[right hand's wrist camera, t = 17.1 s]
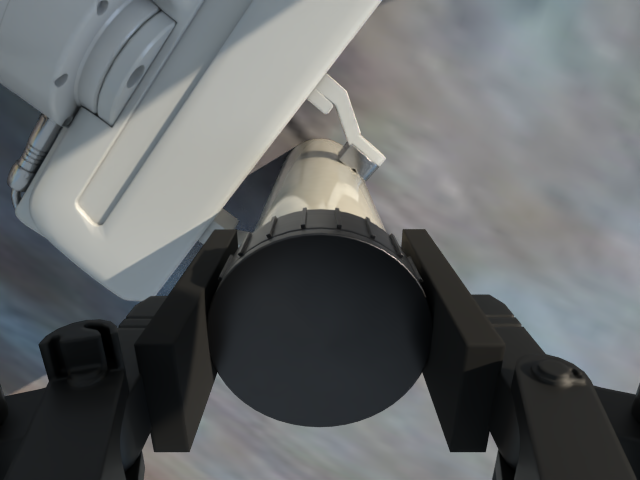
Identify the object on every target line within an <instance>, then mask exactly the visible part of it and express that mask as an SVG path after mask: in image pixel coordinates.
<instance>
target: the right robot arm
mask: <svg viewBox="0 0 640 480" xmlns="http://www.w3.org/2000/svg"><path fill="white" fill-rule="evenodd" d="M401 248H402V250H403V251H404V253H405V255H406V256H407V257H409V256H410V257H411V259H412V261H413V263H414V265H415V267H416V269H417V271H418V273H419V275H420V277H421V279H422V280H423V282H421V283H420V284H421V286H422V288H423V290H424V292H425V295H426V297H427V299H428V301H429V305H430V309H431V312H432V319H433V332H432V341H431V349H430V355H429V357H428V360H427V363H426V365H425V367H424V369H423V371H422V373H423V375H424V378H425V381H426V384H427V387H428V390H429V393H430V395H431V398H432V401H433V404H434V407H435V410H436V413H437V416H438V418H439V421H440V424H441V427H442V430H443V433H444V436H445V438H446V441H447V444H448V447H449V450H450V452H486V448H487V442H488V437H489V432H490V433H491V435H492V437H493V439H494V441H495V443H496V445H497V447H498V454H497V459H496V463H495V468H494V473H493V478H492V480H640V384H639V387H638V390H637V393H636V395H635V394H630V393H625V392H620V391H615V390H610V389H606V388H601V387H597V386H593V384H592V382H591V380H590V379H589V377H588V376H587V375H586V374H585V372H584V371H582V370H581V369H579V368H578V367H577V366H575V365H574V364H572V363H570V362H568V361H566V360H563V359H561V358H559V357H555V356H551V355H547V354H545V353H544V351H543V350H542V349H541V348H540V347H539V345H538V344H537V343H536V342H535V340H534V339H533V338H532V337H531V336H530V334H529V333H528V332H527V331H526V330H525V328H524V327H521V323H520V322H519V321H518V320H517V319H516V317H514V315H513V314H512V312H511V311H510V310H509V309H508V308H507V306H506V305H505V304H504V303H502V302H500V301H499V300H497V299H496V298H494V297H492V296H491V295H471V294H470V293H469V291H468V290H467V288H466V287H465V285H464V284H463V283H462V281H461V280H460V278H459V277H458V275H457V274H456V273H455V271H454V270H453V268H452V267H451V265H450V264H449V263H448V261H447V260H446V258H445V257H444V255H443V254H442V253H441V251H440V250H439V248H438V247H437V245H436V244H435V243H434V241H433V240H432V238H431V237H430V235H429V234H428V233H427V231H426V230H425V229H403V233H402V246H401ZM237 249H238V236H237V229H214V231H213V232H212V234H211V235H210V236H209V238H208V239H207V241H206V242H205V244H204V245H203V246H202V248H201V249H200V251H199V252H198V254H197V255H196V256H195V258H194V259H193V261H192V262H191V264H190V265H189V266H188V268H187V269H186V271H185V272H184V274H183V275H182V276H181V278H180V279H179V281H178V282H177V284H176V285H175V286H174V288H173V289H172V291H171V292H170V294H169V295H168V296H150V297H148V298H147V299H145V300H143V301H142V302H140V303H139V304H137V305H135V307H134V308H133V309H132V310H131V311H130V313H129V314H128V315H127V316H126V319H124V320H123V321H122V322H121V324H120V325H119V328H117V326H116V325H114V324H113V323H112V322H110V321H105V320H85V321H80V322H76V323H72V324H69V325H67V326H64V327H61V328H59V329H57V330H55V331H54V332H52V333H50V334H49V335H47V336H46V337H45V338H44V339H43V340H42V341H41V342H40V343H39V348H40V351H41V355H42V358H43V362H44V365H45V369H46V372H47V376H48V379H49V383H48V385H47V387H46V388H42V389H38V390H34V391H29V392H24V393H19V394H14V395H9V396H4V394H3V391H2V388H1V385H0V480H144V471H145V465H144V459H143V454H142V449H143V447H144V445H145V442H146V440H147V438H148V436H149V434H150V433H151V438H152V444H153V449H154V452H190V449H191V446H192V443H193V441H194V438H195V435H196V432H197V429H198V426H199V423H200V421H201V418H202V415H203V412H204V409H205V406H206V403H207V400H208V398H209V395H210V392H211V389H212V386H213V383H214V380H215V378H216V375H217V370H216V368H215V366H214V364H213V361H212V358H211V355H210V352H209V344H208V335H207V317H208V311H209V308H210V304H211V301H212V298H213V296H214V294H215V292H216V290H217V288H218V286H219V284H220V282H221V281H219V280H218V278H219V276H220V274H221V272H222V270H223V268H224V266H225V264H226V262H227V260H228V258H229V256H230V255H234V254H235V252H236V251H237Z"/></svg>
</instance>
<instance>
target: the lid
mask: <svg viewBox="0 0 640 480" xmlns="http://www.w3.org/2000/svg"><path fill="white" fill-rule="evenodd" d="M218 280H219V281H221V282H220V284H219V286H218V288H217V290H216V292H215V294H214V296H213V298H212V301H211V304H210V308H209V311H208V317H207V335H208V344H209V352H210V355H211V358H212V361H213V364H214V366H215V368H216V370H217V372H218V374H219V375H220V377H221V378H222V380H223V381H224V383H225V384H226V385H227V386H228V388H229V389H230V390H231V391H232V392H233V393H234V394H235V395H236V396H237V397H238V398H240V399H241V400H242V401H243V402H244V403H246V404H247V405H249V406H250V407H252V408H253V409H255V410H256V411H258V412H260V413H262V414H264V415H266V416H268V417H271V418H273V419H276V420H279V421H282V422H286V423H290V424H294V425H300V426H308V427H332V426H339V425H346V424H350V423H354V422H358V421H361V420H363V419H366V418H369V417H371V416H373V415H375V414H377V413H379V412H381V411H383V410H385V409H386V408H388V407H389V406H391V405H393V404H394V403H395V402H396V401H398V400H399V399H400V398H401V397H402V396H404V395H405V394H406V393H407V391H408V390H409V389H410V388H411V387H412V386H413V385H414V383H415V382H416V381H417V379H418V378H419V376H420V375H421V373H422V371H423V369H424V367H425V365H426V363H427V360H428V357H429V355H430V349H431V341H432V332H433V319H432V312H431V309H430V305H429V301H428V299H427V297H426V295H425V292H424V290H423V288H422V286H421V284H420V283H421V282H423V280H422V279H421V277H420V275H419V273H418V271H417V269H416V267H415V265H414V263H413V261H412V259H411V257H410V256H409V257H407V256H406V255H405V253H404V251H403V250H402V248H401V247H400V246H399V244H398V242H397V240H396V238H395V236H394V235H393V234H391V235H389V234H388V233H386V232H385V231H384V230H383V229H381V228H380V227H378V226H377V225H375V224H374V223H372V222H371V221H370V218H368V217H366V218H365V219H364V218H362V217H359V216H356V215H353V214H350V213H347V212H342V211H340V210H339V208H335V210H328V209H311V210H307V207H305V208H303V210H302V211H297V212H293V213H289V214H286V215H283V216H280V217H278V218H277V217H276V216H274V217H272V219H271V221H269V222H268V223H266V224H264V225H263V226H261V227H260V228H258V229H257V230H256V231H254V232H253V233H252V234H251V233H250V232H249V233H248V234H247V235H246V237H245V239H244V241H243V243H242V244H241V245H240V246H239V248H238V249H237V251H236V252H235V254H234V255H230V256H229V258H228V260H227V262H226V264H225V266H224V268H223V270H222V272H221V274H220V276H219V278H218Z"/></svg>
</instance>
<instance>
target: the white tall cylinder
mask: <svg viewBox="0 0 640 480" xmlns="http://www.w3.org/2000/svg"><path fill="white" fill-rule="evenodd" d="M342 148H343V146H342V145H340V144H338V143H336V142H334V141H331V140H327V139H313V140H309V141H306V142H303V143H301V144H300V145H298V146H296V147H295V148H294V149H293V150H292V151H291V152H290V153H289V154H288V156H287V157H286V159H285V161H284V163H283V165H282V167H281V170H280V172H279V174H278V177H277V179H276V181H275V184H274V186H273V188H272V190H271V193H270V195H269V197H268V200H267V202H266V204H265V207H264V209H263V211H262V214H261V216H260V218H259V220H258V223H257V225H256V227H255V230H254V231H256V230H257V229H258V228H260V227H261V226H263V225H264V224H266V223H268V222H269V221H271V219H272V217H274V216H276V217H277V218H278V217H280V216H283V215H286V214H289V213H293V212H297V211H302V210H303V208H305V207H307V210H311V209H328V210H335V208H339V210H340V211H342V212H347V213H350V214H353V215H356V216H359V217H362V218H364V219H365V218H366V217H368V218H370V221H371V222H372V223H374V224H375V225H377V226H378V227H380V228H381V229H383V230H384V231H385V232H386V230H385V228H384V226H383V224H382V221H381V219H380V217H379V214H378V212H377V210H376V207H375V205H374V203H373V201H372V198H371V196H370V194H369V191H368V189H367V187H366V184H365V182H364V180H363V179H362V178H360V177H359V176H358V174H357V173H356V171H355V169H351V168H349V167H347V166H346V165H345V164H344V163H342V162H341V161H340V160H339V158H338V157H339V156H338V153H339V151H340V150H341V149H342Z"/></svg>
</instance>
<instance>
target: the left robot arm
mask: <svg viewBox="0 0 640 480" xmlns="http://www.w3.org/2000/svg"><path fill="white" fill-rule="evenodd" d="M381 1H382V0H0V84H2V85H3V86H5V87H6V88H7V89H9V90H10V91H12V92H13V93H15V94H16V95H18V96H19V97H20V98H22V99H23V100H25V101H26V102H27V103H29V104H30V105H31V106H33V107H34V108H36V109H37V110H38V111H40V112H41V113H42V114H41V115H40V117H39V119H38V121H37V123H36V125H35V127H34V129H33V130H32V132H31V134H30V136H29V139H28V141H27V144H26V147H25V150H24V151H23V154H22V155H21V157H20V159H19V160H17V161H16V162H15V163H14V165H13V166H12V168H11V170H10V172H9V175H8V179H7V184H8V185H9V186H10V187H11V188H12V191H11V198H12V204H13V206H14V209H15V215H16V216H17V218H18V219H19V220H20V221H21V222H22V223H23V224H25V225H26V226H27V227H29V228H31V229H32V230H34V231H35V232H37V233H38V234H40V235H41V236H43V237H45V238H46V239H47V240H48V241H49V242H50V243H52V244H53V245H54V246H55V247H56V248H57V249H58V250H59V251H60V252H61V253H63V254H64V255H65V256H66V257H67V258H68V259H70V260H71V261H72V262H73V263H74V264H76V265H77V266H78V267H79V268H80V269H82V270H83V271H84V272H85V273H87V274H88V275H89V276H91V277H92V278H93V279H94V280H96V281H97V282H98V283H100V284H101V285H102V286H104V287H105V288H106V289H108V290H109V291H111V292H112V293H114V294H115V295H117V296H118V297H120V298H122V299H124V300H127V301H143V300H145V299H147V298H148V297H150V296H156V294H157V293H158V292H159V291H160V289H161V288H162V287H163V286H164V284H165V283H166V282H167V280H168V279H169V278H170V276H171V275H172V274H173V273H174V271H175V270H176V269H177V267H178V266H179V265H180V263H181V262H182V261H183V260H184V258H185V257H186V256H187V254H188V253H189V251H190V250H191V249H192V247H193V246H194V245H195V243H196V242H197V241H199V242H201V243H202V244H203V245H204V244H205V242H206V241H207V239H208V238H209V236H210V235H211V234H212V232H213V231H214V229H235V228H236V226H237V224H238V219H236V218H235V217H234V216H232V215H231V214H230V213H228V212H227V211H226V210H224V209H223V207H224V206H225V204H226V203H227V202H228V200H229V199H230V198H231V196H232V195H233V194H234V192H235V191H236V190H237V189H238V187H239V186H240V185H241V183H242V182H243V181H244V179H245V178H246V177H247V176H248V174H249V173H250V172H251V170H252V169H253V168H254V166H255V165H256V164H257V162H258V161H259V160H260V159H261V157H262V156H263V155H264V153H265V152H266V151H267V149H268V148H269V147H270V146H271V144H272V143H273V142H274V140H275V139H276V138H277V136H278V135H279V134H280V132H281V131H282V130H283V129H284V127H285V126H286V125H287V123H288V122H289V121H290V119H291V118H292V117H293V115H294V114H295V113H296V112H297V110H298V109H299V108H300V106H301V105H302V104H303V102H304V101H305V100H306V99H307V100H308V101H309V102H311V103H312V104H313V105H314V106H315V107H316V108H318V109H319V110H320V111H321V112H322V113H324V114H328V113H329V112H330V110H331V109H332V108H333V104H334V105H335V108H336V111H337V114H338V116H339V119H340V122H341V125H342V128H343V131H344V133H345V136H346V139H347V142H346V144H345V145H344V146H343V148H342V149H341V150H340V151H339V153H338V156H339V157H338V158H339V160H340V161H341V162H342V163H344V164H345V165H346V166H347V167H349V168H351V169H355V171H356V173H357V174H358V176H359V177H360V178H362V179H363V180H364V181H367V180H368V179H369V178H370V177H371V175H372V174H373V173H374V172H375V171H376V170H377V169H378V168H379V166H380V165H381V164H382V163H383V162H384V161H385V160H386V158H385V156H384V155H383V154H382V153H381V152H380V151H379V150H378V149H376V148H375V147H374V146H373V145H372V144H371V143H369V142H368V141H367V140H366V139H365V138H364V137H363V136H361V135H360V130H359V127H358V124H357V121H356V118H355V115H354V112H353V109H352V106H351V103H350V100H349V97H348V94H347V91H346V90H345V89H344V88H342V87H341V86H340V85H339V84H338V83H337V82H336V81H335V80H334V79H332V78H331V77H330V76H329V75H328V74H327V73H326V72H327V71H328V70H329V69H330V67H331V66H332V65H333V63H334V62H335V61H336V59H337V58H338V57H339V55H340V54H341V53H342V52H343V50H344V49H345V48H346V46H347V45H348V44H349V43H350V42H351V41H352V39H353V38H354V37H355V35H356V34H357V33H358V31H359V30H360V29H361V27H362V26H363V25H364V24H365V22H366V21H367V20H368V18H369V17H370V16H371V14H372V13H373V12H374V10H375V9H376V8H377V7H378V5H379V4H380V3H381ZM21 192H25V194H24V195H23V197H22V199H21ZM248 233H249V232H246V231H240V230H237V236H238V248H239V246H240V245H241V244H242V243H243V241H244V239H245V237H246V235H247V234H248ZM250 233H251V232H250ZM251 234H252V233H251Z"/></svg>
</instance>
